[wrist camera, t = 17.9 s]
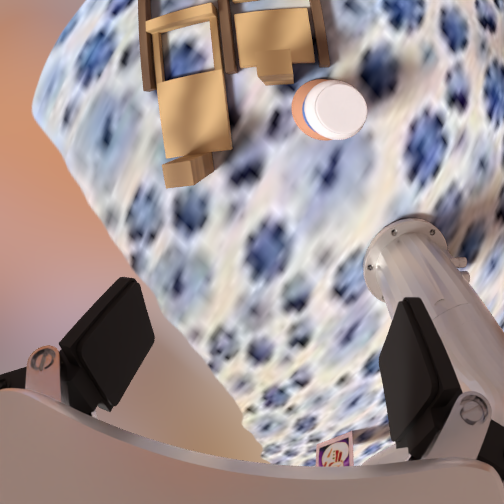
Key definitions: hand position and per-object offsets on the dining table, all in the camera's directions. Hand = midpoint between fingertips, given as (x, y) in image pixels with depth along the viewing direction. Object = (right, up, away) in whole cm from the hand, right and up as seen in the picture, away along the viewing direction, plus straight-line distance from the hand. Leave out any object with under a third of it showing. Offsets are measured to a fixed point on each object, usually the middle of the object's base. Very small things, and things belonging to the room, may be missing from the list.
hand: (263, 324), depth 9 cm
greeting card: (+22, -46, +48) cm, 70 cm away
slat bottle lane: (-7, +21, +18) cm, 29 cm away
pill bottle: (+8, +18, +17) cm, 26 cm away
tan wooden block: (+2, +25, +15) cm, 29 cm away
